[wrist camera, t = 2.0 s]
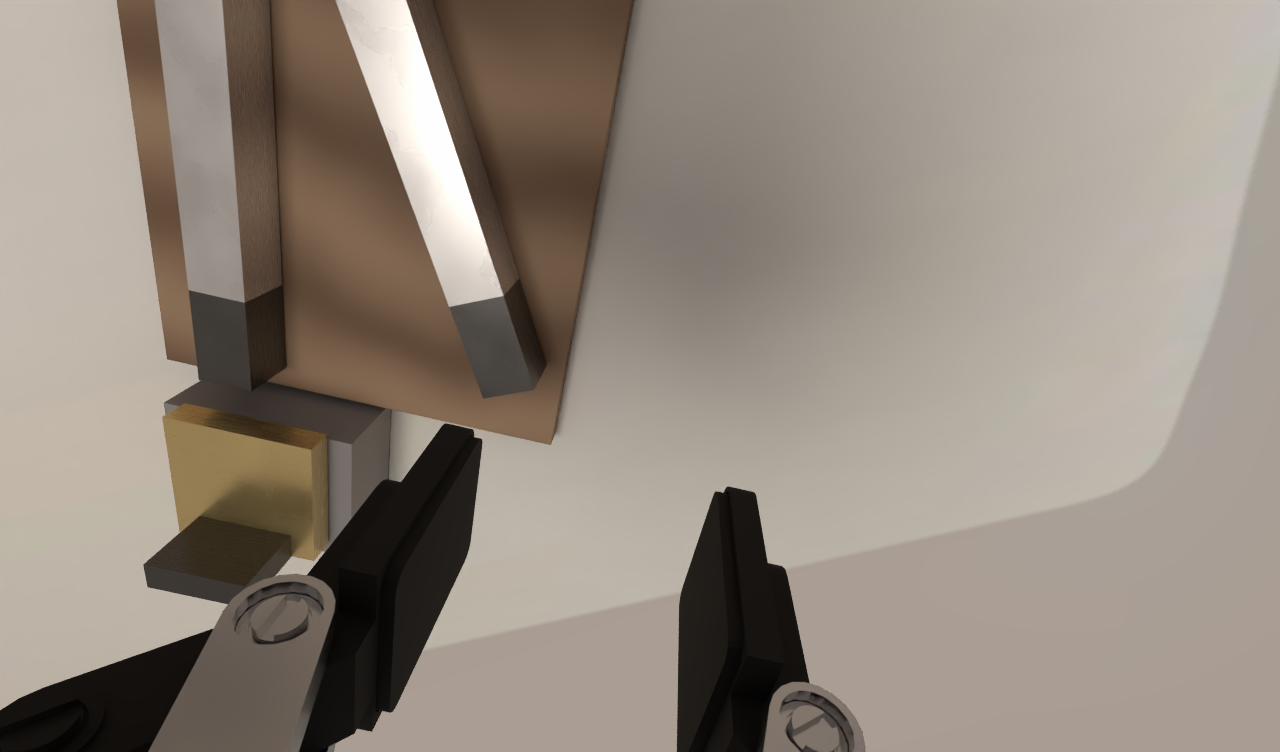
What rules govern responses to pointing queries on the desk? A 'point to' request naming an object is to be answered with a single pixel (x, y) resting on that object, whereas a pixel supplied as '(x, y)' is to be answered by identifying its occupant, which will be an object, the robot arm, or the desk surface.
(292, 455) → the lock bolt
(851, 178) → the desk surface
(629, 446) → the desk surface
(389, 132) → the tong arm
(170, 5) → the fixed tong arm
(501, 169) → the tong board
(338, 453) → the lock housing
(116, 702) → the robot arm
